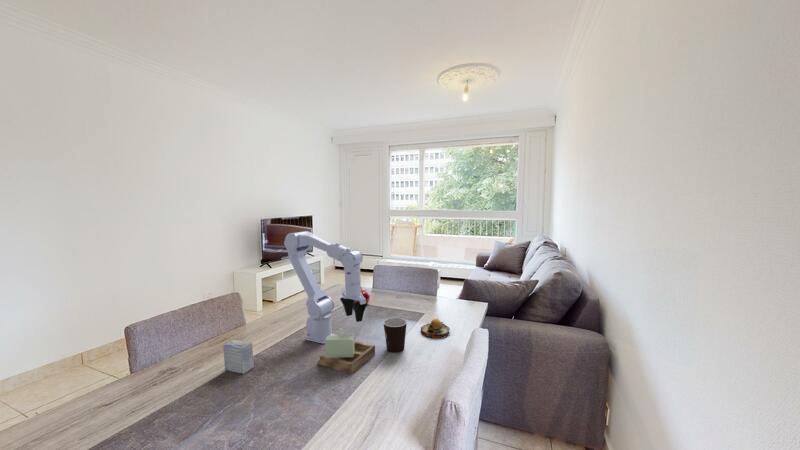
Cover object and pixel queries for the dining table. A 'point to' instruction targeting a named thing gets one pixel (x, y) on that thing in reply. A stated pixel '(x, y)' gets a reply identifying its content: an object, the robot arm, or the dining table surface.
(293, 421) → the dining table surface
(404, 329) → the coffee mug
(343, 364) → the wooden compartment tray
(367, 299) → the pomegranate
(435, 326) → the burger
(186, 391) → the dining table surface
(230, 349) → the medicine box
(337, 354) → the pale green block
